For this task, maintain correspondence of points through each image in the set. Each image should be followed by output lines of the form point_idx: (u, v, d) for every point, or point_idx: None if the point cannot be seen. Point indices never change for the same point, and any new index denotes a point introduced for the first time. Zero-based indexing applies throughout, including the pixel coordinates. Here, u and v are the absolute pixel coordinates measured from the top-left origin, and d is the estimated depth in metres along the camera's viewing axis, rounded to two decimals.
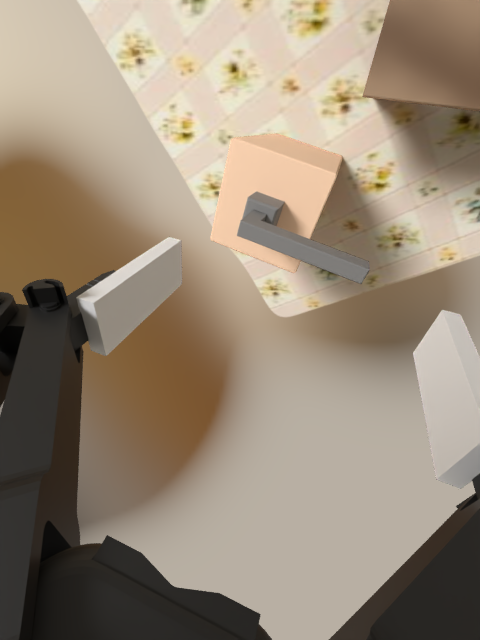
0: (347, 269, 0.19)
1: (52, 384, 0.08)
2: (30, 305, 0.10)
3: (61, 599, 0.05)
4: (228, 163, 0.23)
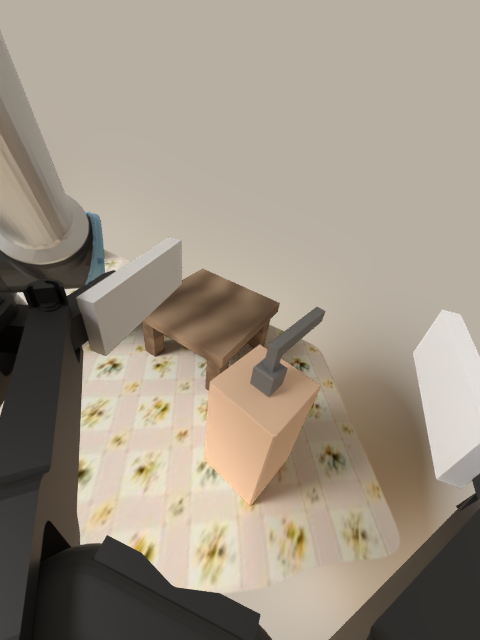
0: (315, 312, 0.32)
1: (52, 384, 0.08)
2: (30, 305, 0.10)
3: (61, 599, 0.05)
4: (222, 391, 0.29)
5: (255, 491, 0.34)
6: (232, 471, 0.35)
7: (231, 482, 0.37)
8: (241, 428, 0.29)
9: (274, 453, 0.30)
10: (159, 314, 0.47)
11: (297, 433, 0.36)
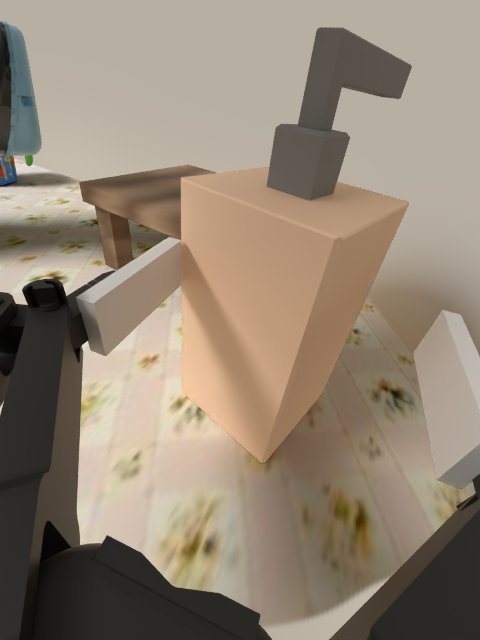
0: None
1: (51, 384, 0.08)
2: (30, 305, 0.10)
3: (61, 599, 0.05)
4: (208, 186, 0.13)
5: (275, 429, 0.17)
6: (231, 396, 0.19)
7: (229, 423, 0.21)
8: (250, 270, 0.13)
9: (320, 329, 0.14)
10: (118, 189, 0.31)
11: (348, 330, 0.20)
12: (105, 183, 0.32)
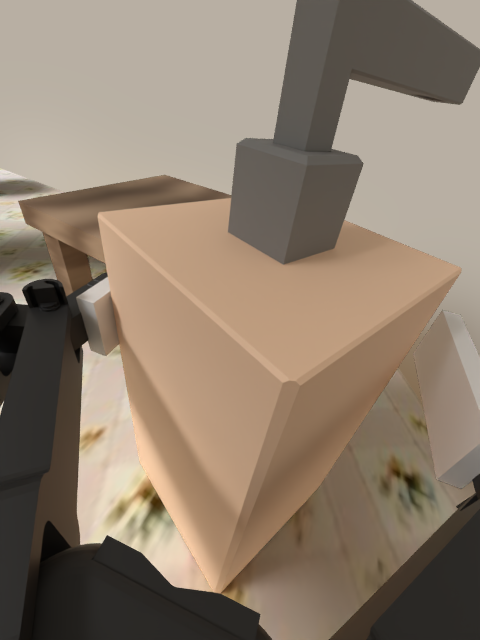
0: None
1: (51, 384, 0.08)
2: (30, 305, 0.10)
3: (61, 599, 0.05)
4: (126, 231, 0.09)
5: (225, 571, 0.12)
6: (178, 501, 0.14)
7: (180, 527, 0.16)
8: (177, 368, 0.08)
9: (286, 473, 0.08)
10: (66, 211, 0.25)
11: (353, 429, 0.14)
12: (52, 202, 0.26)
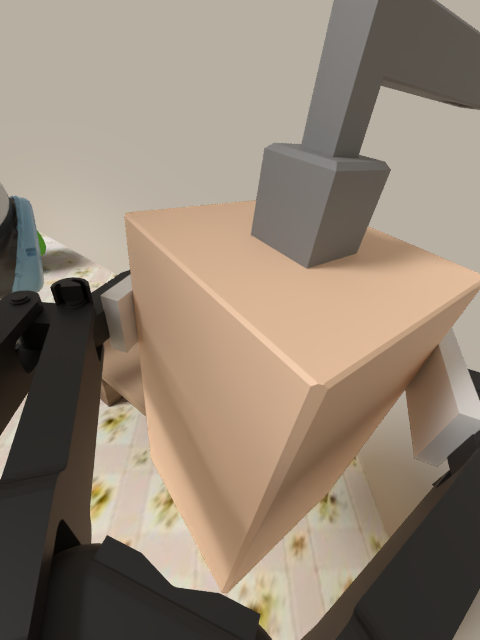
0: None
1: (73, 381, 0.08)
2: (57, 302, 0.10)
3: (70, 601, 0.05)
4: (152, 232, 0.09)
5: (235, 571, 0.12)
6: (190, 499, 0.14)
7: (190, 525, 0.16)
8: (198, 368, 0.08)
9: (302, 476, 0.08)
10: (106, 354, 0.33)
11: (367, 435, 0.14)
12: None
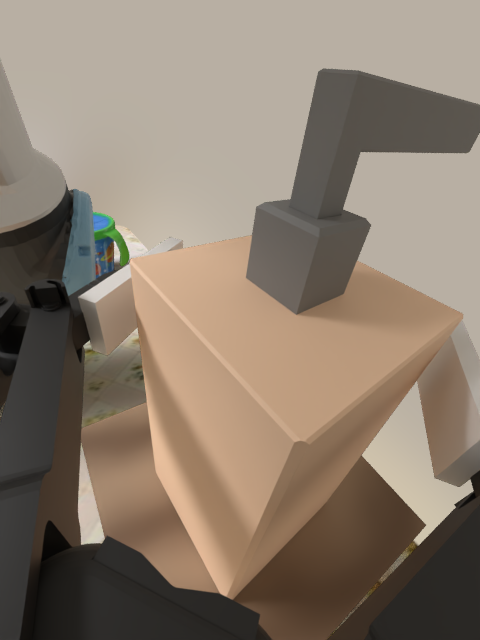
0: None
1: (53, 384, 0.08)
2: (32, 305, 0.10)
3: (62, 599, 0.05)
4: (156, 280, 0.10)
5: (236, 584, 0.13)
6: (193, 515, 0.15)
7: (194, 537, 0.17)
8: (198, 404, 0.09)
9: (295, 502, 0.09)
10: (115, 470, 0.20)
11: (359, 453, 0.15)
12: (111, 437, 0.22)
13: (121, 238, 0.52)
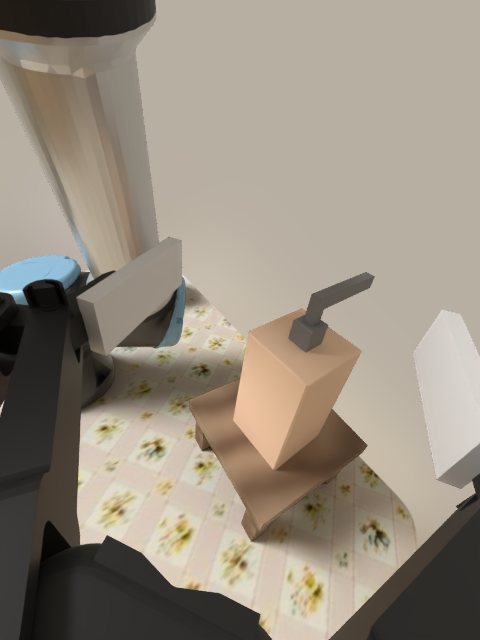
0: (363, 276, 0.31)
1: (51, 384, 0.08)
2: (30, 305, 0.10)
3: (61, 599, 0.05)
4: (260, 341, 0.30)
5: (281, 453, 0.33)
6: (260, 431, 0.35)
7: (258, 444, 0.37)
8: (274, 380, 0.29)
9: (305, 411, 0.29)
10: (213, 419, 0.40)
11: (331, 404, 0.35)
12: (206, 404, 0.42)
13: None
